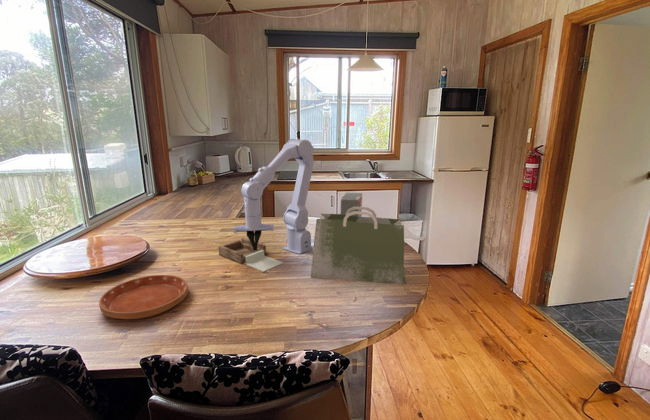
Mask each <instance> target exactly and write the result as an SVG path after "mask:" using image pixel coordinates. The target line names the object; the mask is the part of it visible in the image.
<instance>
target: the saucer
mask: <svg viewBox="0 0 650 420" xmlns="http://www.w3.org/2000/svg"><path fill="white" fill-rule="evenodd" d="M188 292H189V285H188V282H187V281H186V279H184V278H182V277H180V276H177V275H170V274H153V275H145V276H141V277H137V278H133V279H130V280H126V281H124V282H121V283H120V284H117V285H115V286H113V287H111V288H110V289H108V290H107V291H105V292H104V293H103V294H102V295H101V297H100V299H99V301H98V305H99V309H100V312H101V313H102V314H104V315H105V316H106V317H109V318H112V319H118V320H119V319H121V320H137V319H145V318H150V317H154V316H157V315H160V314H162V313H165V312H167V311H168V310H170V309H172V308H174V307H175V306H176V305H178V304H180V303H181V302H182V301H183V300H184V299H185V298H186V296H187V295H188V294H189V293H188Z"/></svg>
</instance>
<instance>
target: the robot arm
mask: <svg viewBox="0 0 650 420" xmlns="http://www.w3.org/2000/svg"><path fill="white" fill-rule="evenodd" d="M290 159H295V161H296V162H297V163H298V165H299V166H298V170H297V174H296V180H295V184H294V189H293V194H292V199H291V203H289V205H288V206H287V207H286V211H285V212H284V214H283V217H282V218H283V222H284V224H286V236H287V237H286V239H287V245H286V246H284V247H283V248H282V249H283V250H286V251H289V252H292V253H295V254H298V255H301V254H304V253H305V252H308V251H310V250H312V249H313V247H312V233H311V232H310V231H309V230H307V226H308V224H309V217H308V216H309V215H308V214H309V211H308V208H307V207H306V204H307V203H306V202H307V197H308V194H309V190H310V189H309V188H310V184H311V179H312V174H313V170H314V165H315V164H314V163H315V160H314V146H313V144H312V142H311V141H310V140H307V139H296V138H290V139H289V140H288V141H287V142H286V143H284V144H283V146H282V149H281V150H280V151H279V152H278V153H277V154H276V156H275V157H274V158H273V159H272V161H271V162H270V163H269V164H268V165H267V166H262V167H259V168H258V169H257V172H256V173H255V174H254V175H253V176H252V177H250V178H249V179H248V181H246V182H244V183H243V184H242V186H241V189H240V191H239V193H240V194H241V196H242V197H243V203H244V205H243V206H244V216H245V219H244V220H245V224H244V225H236V226H233V234H237V233H246V237H247V238H248V240H250V242H251V244H252V247H253V250H257V245H258V243H259V241H260V238H261V236H262V232H267V231H271V232H274V231H275V226H274V225H275V224H267V223H266V224H264V223H263V222H262V211H261V210H262V207H261V197H262V196H263V193H264V190H265V188H267V186H268V185H269V184H270V183H271V182H272V181H273V180H274V179H275V176H276V175H275V173H276V172H277V171H278V170H279V169H280V168H281V167H282V166H284V165H285V163H287V161H289V160H290Z"/></svg>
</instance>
